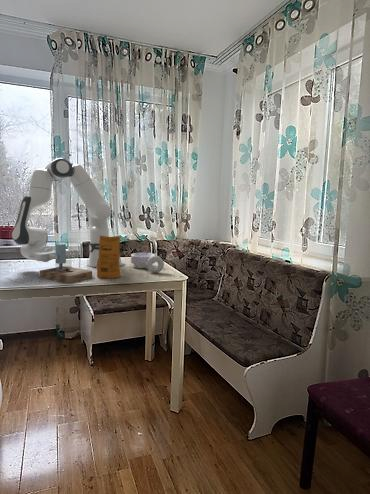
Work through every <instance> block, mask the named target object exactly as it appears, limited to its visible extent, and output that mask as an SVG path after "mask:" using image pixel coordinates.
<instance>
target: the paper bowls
mask: <svg viewBox="0 0 370 494" xmlns="http://www.w3.org/2000/svg"><path fill="white" fill-rule="evenodd" d="M152 256H157V255H156V254H155V253H151V252H135V253H134V252H133V253H131V255H130V263H131V264H133V266H134V267H135V268H137V269H148V268H147V261H148V259H149V258H150V257H152ZM155 263H156V261H155V262H153V264H155Z"/></svg>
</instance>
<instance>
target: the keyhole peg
mask: <svg viewBox="0 0 370 494" xmlns="http://www.w3.org/2000/svg"><path fill="white" fill-rule="evenodd" d="M55 246H56V255H59V259H55V264H58V265H59V266H58V267H59V268H56V267H55V268H56V271H59V272H62V271H66V268H63V266H64V264H67V258H66V249H67V244H65V243H55Z"/></svg>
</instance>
